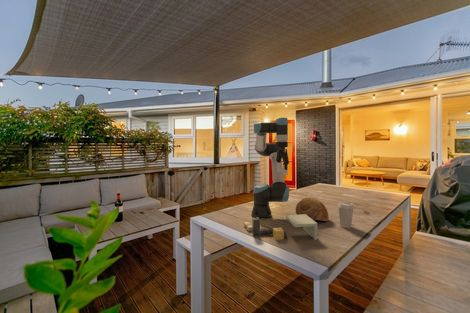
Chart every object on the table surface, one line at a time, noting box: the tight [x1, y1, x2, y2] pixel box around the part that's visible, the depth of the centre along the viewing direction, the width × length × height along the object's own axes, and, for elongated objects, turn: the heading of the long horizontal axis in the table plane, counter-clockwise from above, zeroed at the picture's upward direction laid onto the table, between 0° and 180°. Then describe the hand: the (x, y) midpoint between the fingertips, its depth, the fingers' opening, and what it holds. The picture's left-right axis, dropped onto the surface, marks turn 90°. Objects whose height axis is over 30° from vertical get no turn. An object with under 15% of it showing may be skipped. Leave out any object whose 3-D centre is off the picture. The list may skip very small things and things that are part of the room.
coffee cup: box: [337, 201, 355, 229], centre depth 146 cm, size 10×10×15 cm
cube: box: [272, 227, 285, 241], centre depth 132 cm, size 5×5×5 cm
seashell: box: [295, 197, 330, 222], centre depth 161 cm, size 21×20×15 cm
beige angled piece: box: [285, 214, 318, 241], centre depth 135 cm, size 16×13×10 cm
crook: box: [251, 217, 288, 240], centre depth 134 cm, size 10×18×10 cm, turn 96°
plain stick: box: [243, 221, 252, 232], centre depth 146 cm, size 10×3×3 cm, turn 15°
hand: (282, 173), depth 150 cm, fingers open, 13 cm apart
